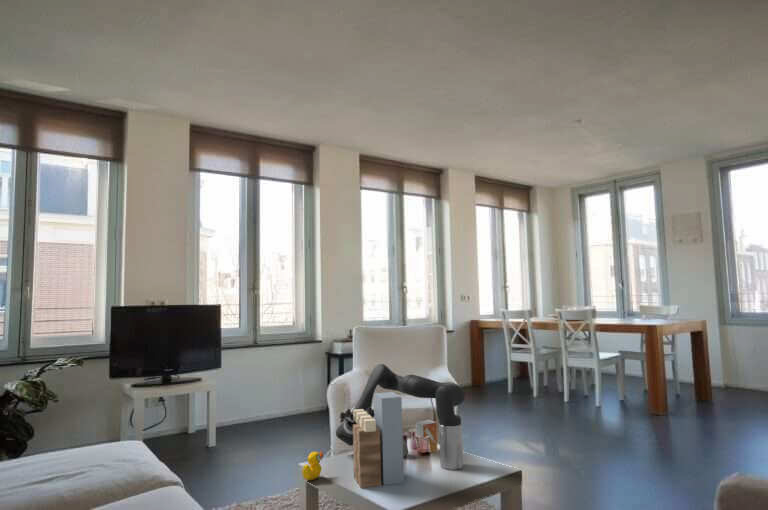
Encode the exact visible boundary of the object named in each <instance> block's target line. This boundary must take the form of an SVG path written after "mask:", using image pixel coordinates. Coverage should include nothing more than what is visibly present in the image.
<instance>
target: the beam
mask: <svg viewBox="0 0 768 510" xmlns="http://www.w3.org/2000/svg"><path fill="white" fill-rule="evenodd" d="M352 411H353V420H354V421H355V422H356V423H357V424H358V425H359V426H360V427H361V428H362V429H363V430H364V431H365V432H373V431H376V420H375V419H374V417H373V418H372V417H371V416H370V415H369V414H368V413H367V412H365V411H364V410H363V409H357V410H354V409H352Z"/></svg>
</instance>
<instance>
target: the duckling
mask: <svg viewBox="0 0 768 510" xmlns="http://www.w3.org/2000/svg"><path fill="white" fill-rule="evenodd" d="M323 456H324V455H323V452H322V451H320V453H319V452H318V451H312V452H310V454H309V455H308V456H307V463H308V464H304V465H303V467H302V476H303V479H305V480H307V481H313V480H316V479H318V478H319V476H320V475H321V473H322V465H321V464H320V463H321V460H322V459H323Z"/></svg>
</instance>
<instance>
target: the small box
mask: <svg viewBox="0 0 768 510" xmlns="http://www.w3.org/2000/svg"><path fill="white" fill-rule="evenodd" d="M437 424H438V423H437V421H433V420H430V419H427V420H421V421H416V422H415V425H414V427H415V429H414V431H415V434H417V435H419V436H422V437H423V438H424V437H426V436H429V435H430V436H429V437H430V438H429V439H430V443H429V444H430V451H431V452H430V453H435V452H438V433H437V431H438V430H437Z"/></svg>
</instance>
